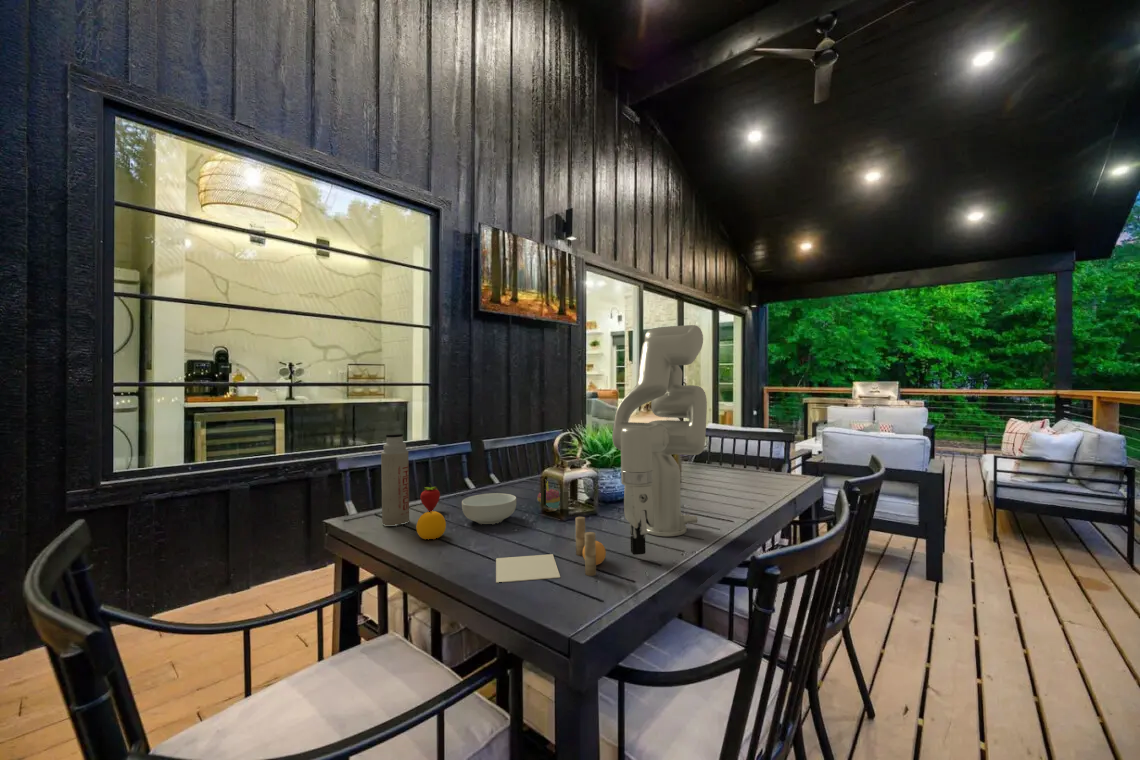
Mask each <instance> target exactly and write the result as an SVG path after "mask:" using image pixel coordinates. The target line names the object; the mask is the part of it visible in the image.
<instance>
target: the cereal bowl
mask: <svg viewBox="0 0 1140 760" xmlns="http://www.w3.org/2000/svg"><path fill="white" fill-rule="evenodd" d="M516 507H517V497H516V496H515V495H513V494H510V493H500V492H496V493H495V492H494V493H493V492H492V493H482V494H477V495H476V494H475V495H472V496H468V497H465V498H463V499H462V500H461V510H462V513H463V515H464V516H465V517H466V518H467V519H468V520H470V521H473V522H476V523H478V525H482V524H492V525H496V524H495V523H497V524H500V523H502V522H503V521H504V520H505V519H507V518H509V517H510V516H512V515H513V513H514V512H515V510H516ZM499 522H500V523H499Z"/></svg>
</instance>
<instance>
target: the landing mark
mask: <svg viewBox="0 0 1140 760" xmlns="http://www.w3.org/2000/svg"><path fill="white" fill-rule="evenodd" d="M548 579H561V575H560V572H559V569H558V566H557V563H556V560H555V557H554V554H553V553H552V554H551V553H550V554H538V555H535V554H534V555H523V556H522V555H521V556H511V557H508V556H507V557H497V558H496V559H495V583H496V584H500V583H499V582H502V583H512V582H524V581H536V580H538V581H539V580H548Z"/></svg>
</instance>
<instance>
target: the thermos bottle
mask: <svg viewBox="0 0 1140 760" xmlns="http://www.w3.org/2000/svg"><path fill="white" fill-rule="evenodd" d="M403 436H404V434H403V433H400V432H397V433H396V432H395V433H387V434H385V437H386V443H384V444H383V447H382V448H383V451H381V453H380V455H381V456H380V460H381V461H380V462H381V464H380V465H381V471H380V472H381V518H382V519H381V524H382V523H383V524H385V525H395V524H401V523H405V522H408V521H409V522H410V474H409V473H410V472H409V471H410V467H409V450H407V444H406V443H405V442H404V437H403Z"/></svg>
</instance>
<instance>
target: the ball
mask: <svg viewBox="0 0 1140 760" xmlns="http://www.w3.org/2000/svg"><path fill="white" fill-rule="evenodd" d="M595 543H596V566H598V565H601V564H602V563H603V562H604V560H605V558H606V556H607V554H606V553H607V552H606V551H607V549H606V548H605V546H604V544H603V543H602V542H600V541H598V540H595ZM582 557H583V559H584V561H585V546H584V548H583V556H582Z"/></svg>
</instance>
